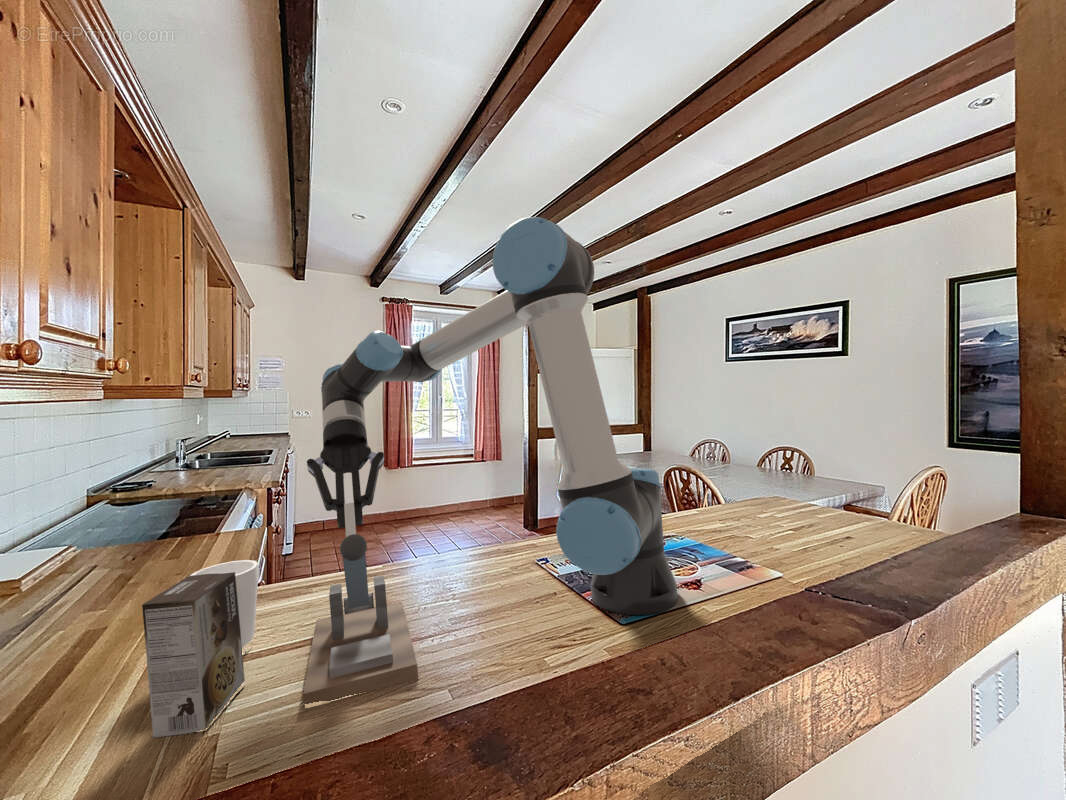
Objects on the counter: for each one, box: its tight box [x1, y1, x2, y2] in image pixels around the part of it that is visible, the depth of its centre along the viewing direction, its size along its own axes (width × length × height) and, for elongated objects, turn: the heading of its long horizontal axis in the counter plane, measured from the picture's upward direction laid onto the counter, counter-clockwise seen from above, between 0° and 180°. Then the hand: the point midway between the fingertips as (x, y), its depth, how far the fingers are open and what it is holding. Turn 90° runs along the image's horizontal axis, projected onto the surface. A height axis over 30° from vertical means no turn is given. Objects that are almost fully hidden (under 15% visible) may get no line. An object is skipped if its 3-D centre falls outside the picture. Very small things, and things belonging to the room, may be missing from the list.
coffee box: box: [141, 572, 246, 738], centre depth 60 cm, size 9×6×16 cm
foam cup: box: [189, 559, 260, 647], centre depth 75 cm, size 10×9×13 cm
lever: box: [339, 533, 375, 614], centre depth 71 cm, size 4×4×18 cm
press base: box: [302, 575, 419, 705], centre depth 72 cm, size 22×14×9 cm, turn 21°
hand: (351, 543), depth 73 cm, fingers closed
